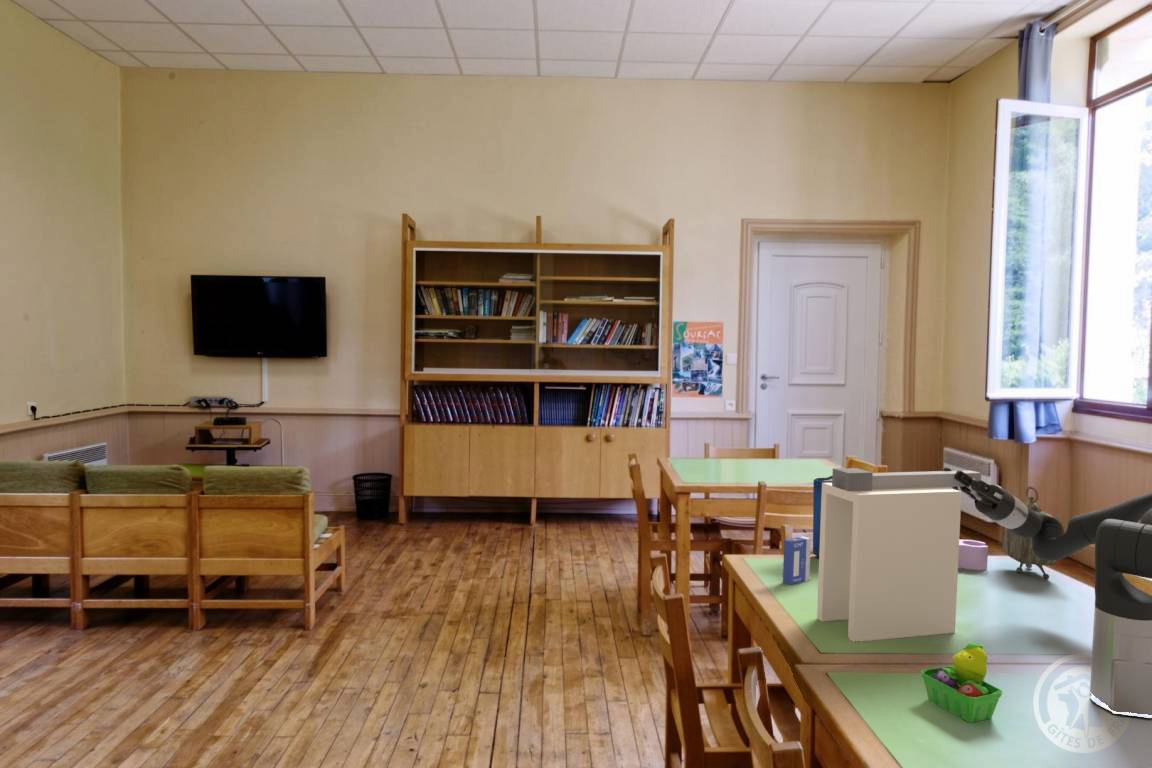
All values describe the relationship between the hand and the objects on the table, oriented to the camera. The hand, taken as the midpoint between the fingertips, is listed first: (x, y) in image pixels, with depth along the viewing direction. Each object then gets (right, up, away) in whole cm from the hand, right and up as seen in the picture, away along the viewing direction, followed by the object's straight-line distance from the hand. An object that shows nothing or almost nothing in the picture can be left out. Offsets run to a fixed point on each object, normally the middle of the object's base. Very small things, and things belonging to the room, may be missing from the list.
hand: (950, 472), depth 171 cm
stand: (-16, -35, -2) cm, 38 cm away
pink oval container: (+24, -33, +49) cm, 64 cm away
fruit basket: (-19, -37, -41) cm, 58 cm away
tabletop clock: (+42, -34, +40) cm, 68 cm away
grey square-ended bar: (-11, -3, -3) cm, 11 cm away
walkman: (-27, -33, +29) cm, 52 cm away
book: (-5, -32, +54) cm, 63 cm away
